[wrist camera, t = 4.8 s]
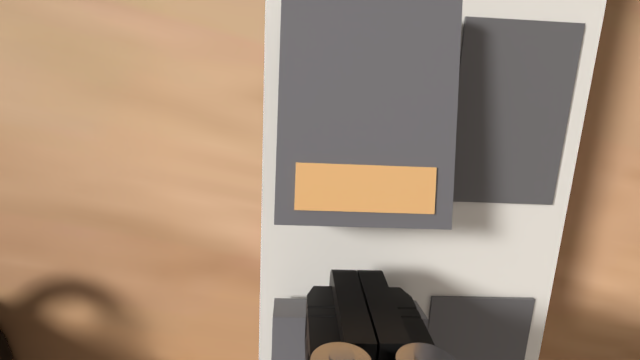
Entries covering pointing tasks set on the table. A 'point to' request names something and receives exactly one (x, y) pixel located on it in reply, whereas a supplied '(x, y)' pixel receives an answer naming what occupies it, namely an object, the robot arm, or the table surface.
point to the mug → (4, 348)
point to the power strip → (465, 186)
